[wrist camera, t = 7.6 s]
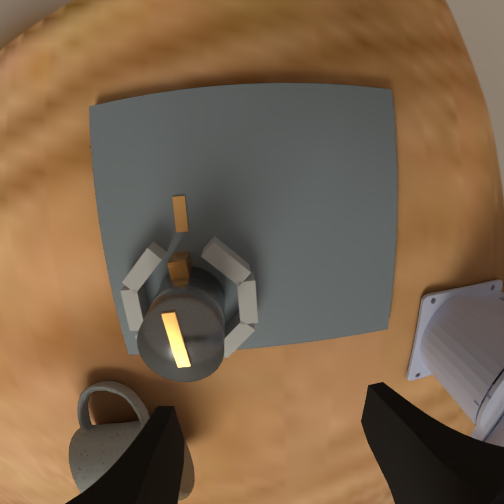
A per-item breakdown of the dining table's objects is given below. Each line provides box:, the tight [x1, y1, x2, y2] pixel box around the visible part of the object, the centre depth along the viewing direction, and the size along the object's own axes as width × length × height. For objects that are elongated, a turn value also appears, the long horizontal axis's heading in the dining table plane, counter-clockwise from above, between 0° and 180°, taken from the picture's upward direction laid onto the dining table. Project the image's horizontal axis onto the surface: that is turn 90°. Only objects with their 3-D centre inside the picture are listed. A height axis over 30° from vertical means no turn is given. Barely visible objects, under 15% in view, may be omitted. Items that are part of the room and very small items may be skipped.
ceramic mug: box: [69, 381, 194, 501], centre depth 19 cm, size 11×8×8 cm
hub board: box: [89, 83, 397, 359], centre depth 18 cm, size 18×16×2 cm
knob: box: [137, 251, 225, 382], centre depth 16 cm, size 5×4×6 cm
